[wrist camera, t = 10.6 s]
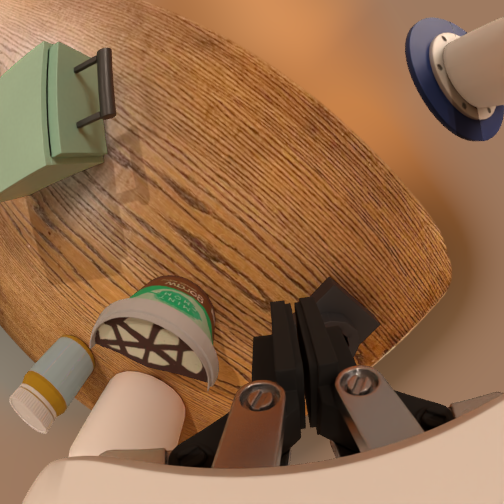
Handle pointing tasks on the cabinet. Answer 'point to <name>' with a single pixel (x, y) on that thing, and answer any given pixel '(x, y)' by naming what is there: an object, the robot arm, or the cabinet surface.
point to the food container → (163, 328)
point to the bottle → (53, 382)
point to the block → (344, 313)
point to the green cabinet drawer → (78, 101)
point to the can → (132, 417)
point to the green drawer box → (30, 131)
